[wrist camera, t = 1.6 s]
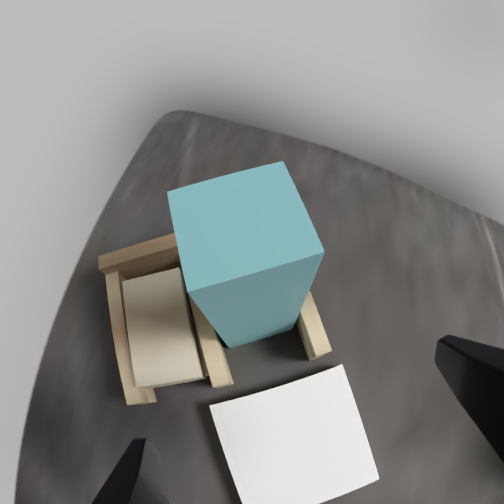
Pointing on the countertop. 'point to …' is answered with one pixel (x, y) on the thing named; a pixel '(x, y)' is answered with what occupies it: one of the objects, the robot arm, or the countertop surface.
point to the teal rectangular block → (246, 251)
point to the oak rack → (166, 258)
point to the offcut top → (161, 330)
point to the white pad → (296, 441)
